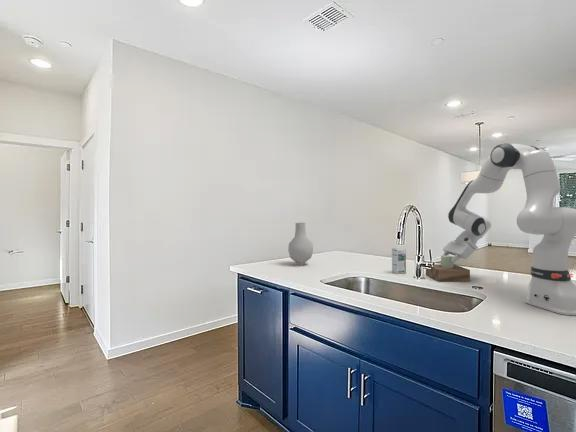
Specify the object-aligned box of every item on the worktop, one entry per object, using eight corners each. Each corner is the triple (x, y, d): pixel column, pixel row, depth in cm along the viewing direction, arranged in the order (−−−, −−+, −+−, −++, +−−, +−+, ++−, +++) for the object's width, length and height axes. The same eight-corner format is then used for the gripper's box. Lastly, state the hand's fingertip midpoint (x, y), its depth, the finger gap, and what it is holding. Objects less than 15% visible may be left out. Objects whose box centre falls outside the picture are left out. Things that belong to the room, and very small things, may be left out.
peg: (453, 279, 176) (453, 256, 176) (444, 279, 176) (445, 256, 176) (448, 277, 181) (449, 255, 180) (440, 277, 181) (441, 255, 180)
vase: (283, 264, 222) (282, 223, 221) (300, 261, 233) (300, 221, 232) (300, 268, 209) (300, 224, 208) (318, 264, 220) (317, 222, 219)
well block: (469, 281, 171) (470, 269, 170) (439, 281, 170) (439, 270, 170) (453, 274, 187) (453, 264, 186) (425, 275, 186) (425, 264, 186)
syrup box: (397, 274, 190) (397, 249, 189) (391, 272, 195) (391, 247, 195) (406, 273, 191) (406, 248, 190) (399, 271, 197) (400, 247, 196)
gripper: (451, 235, 188) (433, 253, 188) (471, 239, 168) (452, 259, 168) (458, 243, 188) (441, 260, 189) (480, 248, 168) (461, 267, 168)
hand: (446, 260), depth 178 cm, fingers open, 8 cm apart
